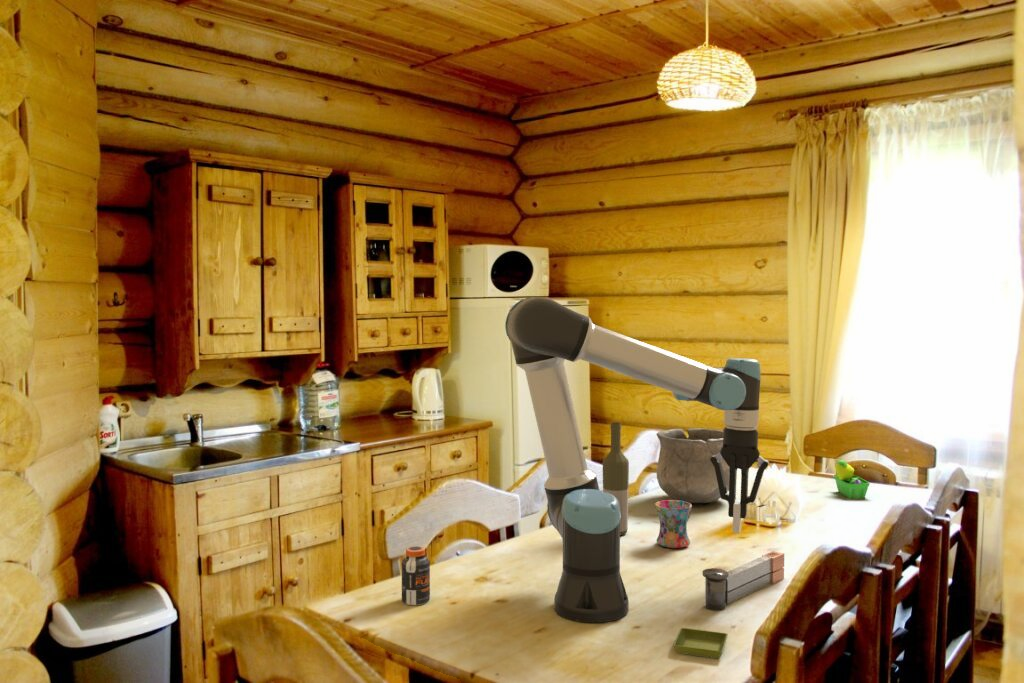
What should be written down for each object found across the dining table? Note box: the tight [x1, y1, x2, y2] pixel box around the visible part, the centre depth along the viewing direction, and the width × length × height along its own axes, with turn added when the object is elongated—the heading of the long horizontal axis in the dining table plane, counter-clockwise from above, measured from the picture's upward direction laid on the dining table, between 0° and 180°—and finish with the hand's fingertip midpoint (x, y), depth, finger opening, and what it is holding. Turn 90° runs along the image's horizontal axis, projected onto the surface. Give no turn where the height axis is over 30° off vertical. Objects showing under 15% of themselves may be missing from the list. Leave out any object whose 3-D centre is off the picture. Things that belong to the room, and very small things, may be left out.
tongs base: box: [702, 567, 785, 612], centre depth 180 cm, size 29×5×7 cm, turn 134°
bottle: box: [602, 422, 630, 536], centre depth 225 cm, size 7×7×30 cm
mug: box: [654, 499, 693, 549], centre depth 216 cm, size 12×9×11 cm
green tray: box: [673, 627, 728, 659], centre depth 152 cm, size 9×9×2 cm
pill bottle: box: [401, 545, 431, 606], centre depth 176 cm, size 6×6×11 cm
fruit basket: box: [833, 459, 870, 499], centre depth 267 cm, size 11×9×11 cm
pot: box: [655, 427, 730, 504], centre depth 260 cm, size 25×24×21 cm
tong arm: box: [725, 550, 785, 592], centre depth 182 cm, size 23×3×3 cm, turn 134°
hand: (736, 531), depth 188 cm, fingers closed
